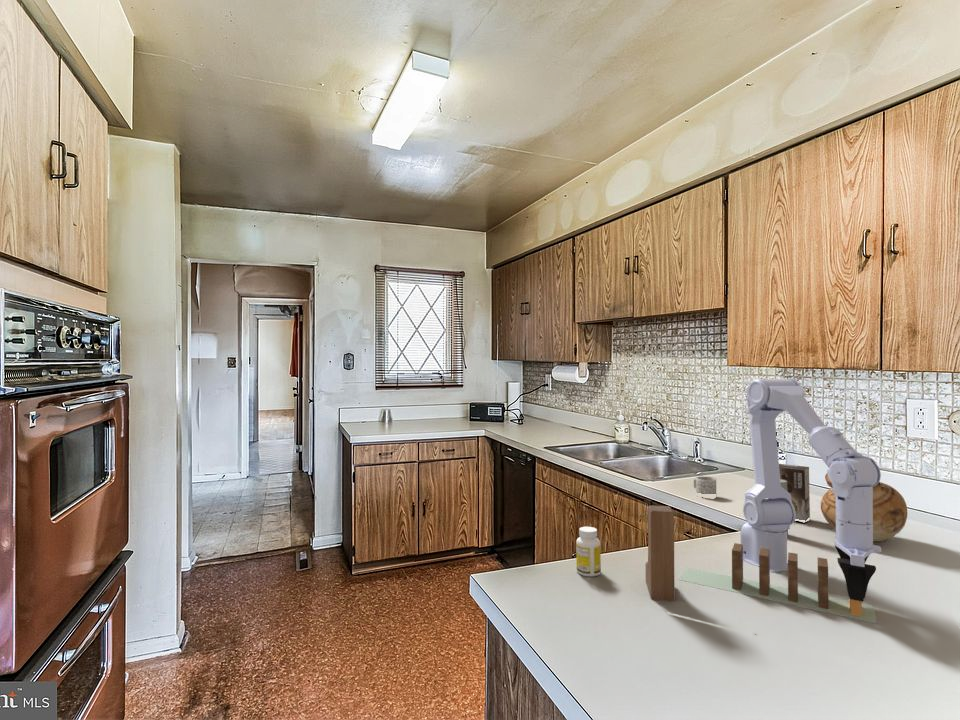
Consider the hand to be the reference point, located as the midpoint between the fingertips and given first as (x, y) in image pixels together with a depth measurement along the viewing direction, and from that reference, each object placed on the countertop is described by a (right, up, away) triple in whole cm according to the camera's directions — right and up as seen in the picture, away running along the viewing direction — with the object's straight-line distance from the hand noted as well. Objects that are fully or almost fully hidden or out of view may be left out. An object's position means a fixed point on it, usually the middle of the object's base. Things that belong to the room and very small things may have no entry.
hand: (854, 591), depth 96 cm
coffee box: (+24, -5, +59) cm, 64 cm away
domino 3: (-8, -4, +5) cm, 11 cm away
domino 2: (-13, -4, +8) cm, 15 cm away
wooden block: (-34, -4, +8) cm, 36 cm away
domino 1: (-17, -4, +11) cm, 20 cm away
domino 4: (-4, -3, +3) cm, 6 cm away
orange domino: (0, -3, 0) cm, 3 cm away
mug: (+9, -5, +86) cm, 87 cm away
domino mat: (-12, -4, +8) cm, 15 cm away
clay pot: (+33, -5, +41) cm, 52 cm away
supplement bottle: (-47, -4, +18) cm, 51 cm away
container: (+12, -5, +44) cm, 46 cm away
